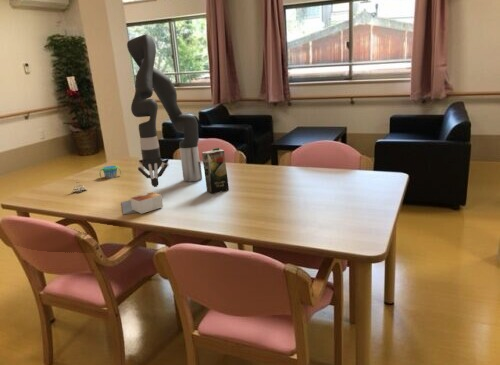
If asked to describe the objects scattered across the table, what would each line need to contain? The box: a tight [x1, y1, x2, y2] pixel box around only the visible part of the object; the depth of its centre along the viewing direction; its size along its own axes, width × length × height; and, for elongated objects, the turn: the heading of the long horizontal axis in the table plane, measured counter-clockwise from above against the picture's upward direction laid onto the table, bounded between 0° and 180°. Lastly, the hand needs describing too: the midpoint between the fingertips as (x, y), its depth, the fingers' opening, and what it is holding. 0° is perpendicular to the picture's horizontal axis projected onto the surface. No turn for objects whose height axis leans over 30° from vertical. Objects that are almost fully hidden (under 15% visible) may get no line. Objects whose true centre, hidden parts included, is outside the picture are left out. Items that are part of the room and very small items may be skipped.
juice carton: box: [201, 147, 230, 195], centre depth 189 cm, size 20×10×6 cm
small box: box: [130, 191, 164, 215], centre depth 171 cm, size 8×6×10 cm
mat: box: [121, 200, 139, 216], centre depth 178 cm, size 13×18×1 cm
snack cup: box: [99, 165, 122, 179], centre depth 226 cm, size 11×8×7 cm
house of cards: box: [71, 179, 88, 194], centre depth 201 cm, size 9×9×8 cm
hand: (155, 186), depth 176 cm, fingers closed
